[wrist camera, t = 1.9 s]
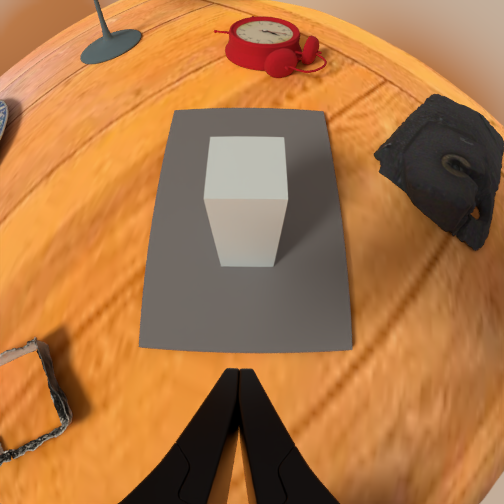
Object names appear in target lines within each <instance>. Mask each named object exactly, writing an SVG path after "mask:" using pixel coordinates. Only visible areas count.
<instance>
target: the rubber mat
mask: <svg viewBox="0 0 504 504" xmlns="http://www.w3.org/2000/svg"><path fill="white" fill-rule="evenodd" d="M233 136H248V137H284V143H285V157H286V172H287V188H288V203H287V207H286V212H285V217H284V221H283V226H282V230H281V235H280V239H279V244H278V248H277V253H276V257H275V262H274V266H273V267H233V266H221V264H220V260H219V257H218V253H217V249H216V245H215V241H214V238H213V234H212V230H211V226H210V222H209V218H208V214H207V210H206V206H205V202H204V189H205V180H206V170H207V161H208V152H209V143H210V137H233ZM139 347H142V348H153V349H166V350H180V351H198V352H223V353H300V352H325V351H343V350H352V329H351V311H350V296H349V283H348V272H347V261H346V252H345V242H344V234H343V226H342V218H341V210H340V203H339V196H338V189H337V183H336V176H335V170H334V164H333V159H332V153H331V147H330V142H329V137H328V131H327V126H326V121H325V117H324V112H323V111H311V110H296V109H274V108H212V109H190V110H175V111H174V115H173V119H172V123H171V128H170V132H169V136H168V141H167V145H166V150H165V154H164V159H163V164H162V169H161V174H160V179H159V184H158V190H157V195H156V201H155V207H154V213H153V219H152V225H151V232H150V239H149V246H148V254H147V261H146V270H145V279H144V288H143V298H142V309H141V322H140V336H139Z"/></svg>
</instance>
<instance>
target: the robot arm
mask: <svg viewBox="0 0 504 504" xmlns="http://www.w3.org/2000/svg"><path fill="white" fill-rule="evenodd" d="M238 433H240V443H241V450H242V458H243V466H244V473H245V480H246V488H247V495H248V501H249V504H340V503H339V502H338V501H337V500H336V498H335V497H334V496H333V495H332V494H331V493H330V492H329V490H328V489H327V488H326V487H325V486H324V485H323V484H322V482H321V481H320V480H319V479H318V478H317V476H316V475H315V474H314V472H313V471H312V470H311V469H310V467H309V466H308V464H307V463H306V461H305V460H304V458H303V457H302V455H301V453H300V452H299V450H298V448H297V447H296V446H295V443H294V442H293V440H292V438H291V437H290V435H289V433H288V431H287V430H286V428H285V426H284V424H283V423H282V421H281V419H280V417H279V416H278V414H277V412H276V410H275V408H274V407H273V405H272V403H271V401H270V399H269V398H268V396H267V394H266V392H265V390H264V388H263V387H262V385H261V383H260V381H259V379H258V377H257V376H256V374H255V372H254V370H253V369H240V371H239V369H237V368H227V369H226V370H225V371H224V372H223V374H222V375H221V377H220V378H219V380H218V381H217V383H216V384H215V386H214V387H213V389H212V390H211V392H210V393H209V395H208V396H207V398H206V399H205V400H204V402H203V403H202V405H201V406H200V408H199V409H198V411H197V412H196V414H195V415H194V416H193V418H192V419H191V421H190V422H189V424H188V425H187V426H186V428H185V429H184V431H183V432H182V434H181V435H180V436H179V438H178V439H177V441H176V443H174V445H173V446H172V447H171V449H170V450H169V452H168V453H167V454H166V455H165V457H164V458H163V459H162V460H161V462H160V463H159V464H158V465H157V466H156V467H155V468H154V470H153V471H152V472H151V473H150V474H149V475H148V476H147V477H146V478H145V479H144V480H143V481H142V482H141V483H140V484H139V485H138V486H137V487H136V488H135V489H134V490H133V491H132V492H131V493H129V494H128V495H127V496H126V497H125V498H124V499H123V500H122V501H121V502H119V503H118V504H227V499H228V493H229V487H230V482H231V476H232V470H233V464H234V458H235V452H236V446H237V440H238Z"/></svg>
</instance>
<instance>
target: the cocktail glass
mask: <svg viewBox="0 0 504 504" xmlns="http://www.w3.org/2000/svg"><path fill="white" fill-rule="evenodd" d="M94 3H95V6H96V10H97V13H98V16H99V20H100V23H101V27H102V32H103V37H101V38H99V39H97V40H96V41H94V42H93V43H91V44H90V45H89V46H88V47H87V48H86V49H85V50H84V51H83V52H82V54H81V61H82V62H83V63H85V64H97V63H101V62H105V61H108V60H111V59H113V58H116V57H118V56H120V55H122V54H123V53H125V52H127V51H128V50H130V49H131V48H133V47H134V46H135V45H136V44H137V43H138V42H139V41H140V39H141V33H140V32H139V31H137V30H133V29H127V30H120V31H116V32H113V33H110V31H109V30H108V27H107V25H106V23H105V20H104V17H103V14H102V11H101V8H100V5H99V2H98V0H94Z"/></svg>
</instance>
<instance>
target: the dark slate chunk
mask: <svg viewBox="0 0 504 504" xmlns="http://www.w3.org/2000/svg"><path fill="white" fill-rule="evenodd" d="M503 152H504V141H503V138H502V137H501V135H500V134H499V133H498V132H497V131H496V130H495V129H494V127H493V126H491V125H490V124H489V122H488V121H487V120H486V118H485V117H484V116H483V115H481V114H480V113H478V112H477V111H474V110H472V109H471V108H469V107H467V106H465V105H461V104H458V103H456V102H454V101H453V100H451V99H449V98H447V97H445V96H441V95H439V94H433V95H431V96H430V97H429V98H427V99H426V101H425V103H424V104H422V105H421V106H420V107H418V108H417V110H415V111H414V112H413V113H412V114H410V116H409V117H407V119H406V120H405V122H403V123H402V125H401V126H399V127H398V129H397V130H396V131H395V132H394V133H393V134H392V135H391V137H390V138H389V139H388V140H386V142H385V143H384V144H382V145H381V146H380V147H379V149H378V150H377V151H376V152H375V153H374V156H375V158H376V159H377V160H379V161H380V165H381V167H380V170H379V173H380V174H382V175H384V176H385V177H387V178H388V179H389V180H391V181H392V182H393V183H394V184H395V185H397V186H398V187H399V188H401V189H402V190H403V191H404V192H405V193H407V195H408V196H409V198H410V199H411V201H412V203H413V204H414V205H415V206H416V207H417V208H418V209H420V210H421V211H422V212H423V213H424V214H425V215H426V216H428V217H429V218H430V219H431V220H432V221H434V222H435V223H436V224H437V225H438V226H439V227H440V228H441V229H443V230H444V231H446V232H447V231H449V232H450V233H451V234H452V235H453V236H455V235H456V237H458V238H459V239H460V240H461V242H463V240H464V241H465V242H466V243H467V244H468V245H469V246H470V247H472V248H473V250H475V251H476V250H478V249H479V248H481V247H482V246H483V245H484V242H485V240H486V238H487V237H488V234H489V228H490V224H491V220H492V214H493V208H494V201H495V200H494V197H495V195H496V193H495V192H496V191H497V190H498V185H499V183H500V177H501V175H500V173H501V168H502V164H501V163H502V156H503ZM475 206H476V207H478V209H479V214H480V216H479V218H478V219H477V220H476V219H475V218H474V217H473V216H472V215H471V213H473V209H474V208H475Z"/></svg>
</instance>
